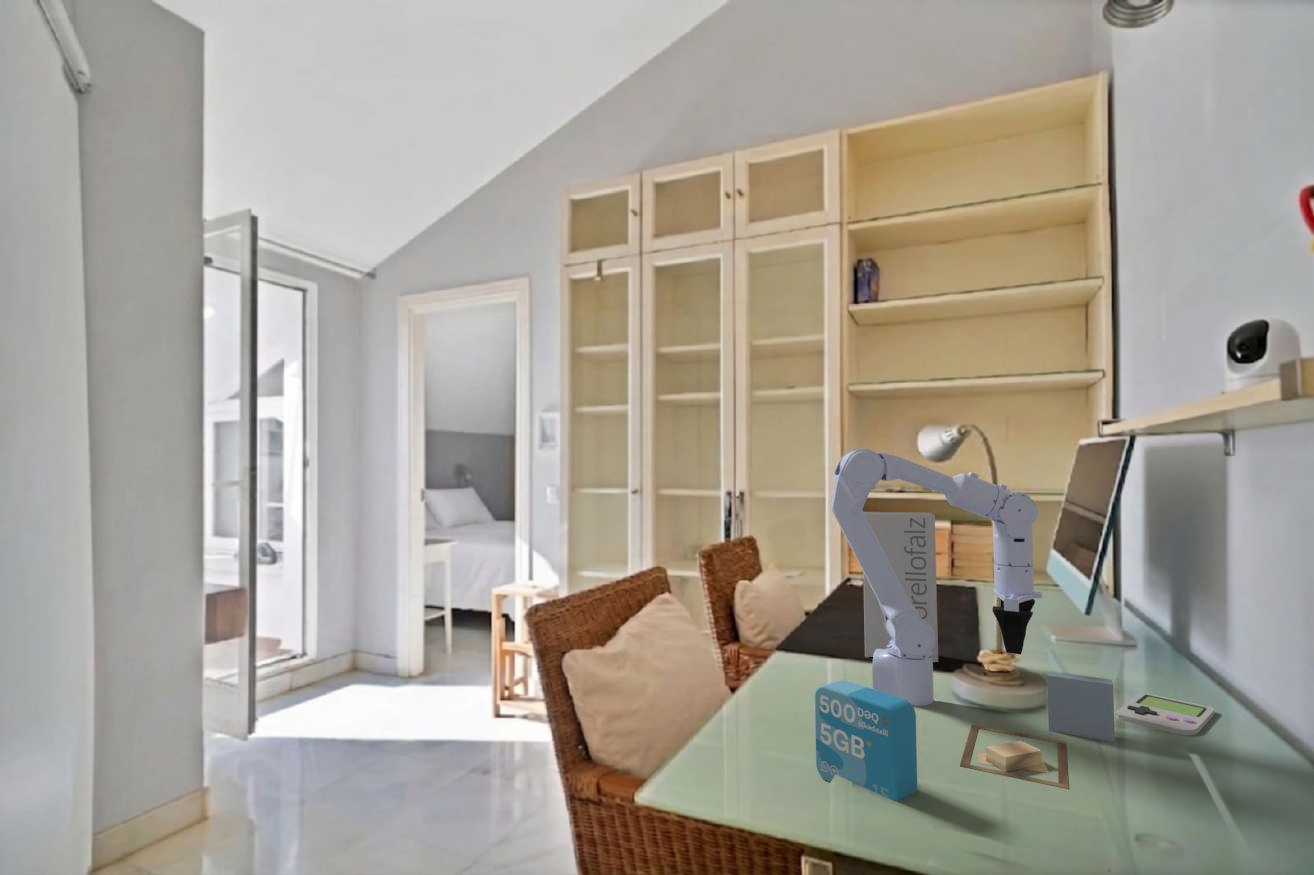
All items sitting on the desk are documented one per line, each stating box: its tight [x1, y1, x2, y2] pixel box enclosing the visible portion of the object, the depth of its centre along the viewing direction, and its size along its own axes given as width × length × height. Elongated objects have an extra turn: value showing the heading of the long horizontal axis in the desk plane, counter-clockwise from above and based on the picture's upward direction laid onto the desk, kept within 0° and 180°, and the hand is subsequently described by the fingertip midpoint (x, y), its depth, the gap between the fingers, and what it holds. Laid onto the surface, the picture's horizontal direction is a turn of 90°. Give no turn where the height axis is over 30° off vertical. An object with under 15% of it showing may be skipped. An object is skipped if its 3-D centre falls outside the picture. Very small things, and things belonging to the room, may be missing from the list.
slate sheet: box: [1046, 670, 1116, 743], centre depth 96 cm, size 8×2×9 cm, turn 59°
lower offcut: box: [976, 751, 1050, 774], centre depth 87 cm, size 8×4×2 cm, turn 70°
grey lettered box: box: [862, 511, 939, 663], centre depth 139 cm, size 14×6×30 cm, turn 73°
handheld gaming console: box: [1115, 692, 1216, 736], centre depth 106 cm, size 10×2×15 cm
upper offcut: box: [985, 740, 1043, 772], centre depth 86 cm, size 6×3×2 cm, turn 109°
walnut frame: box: [959, 724, 1069, 790], centre depth 89 cm, size 12×16×2 cm
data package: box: [814, 679, 918, 802], centre depth 83 cm, size 12×4×12 cm, turn 37°
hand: (1015, 647), depth 108 cm, fingers open, 7 cm apart
